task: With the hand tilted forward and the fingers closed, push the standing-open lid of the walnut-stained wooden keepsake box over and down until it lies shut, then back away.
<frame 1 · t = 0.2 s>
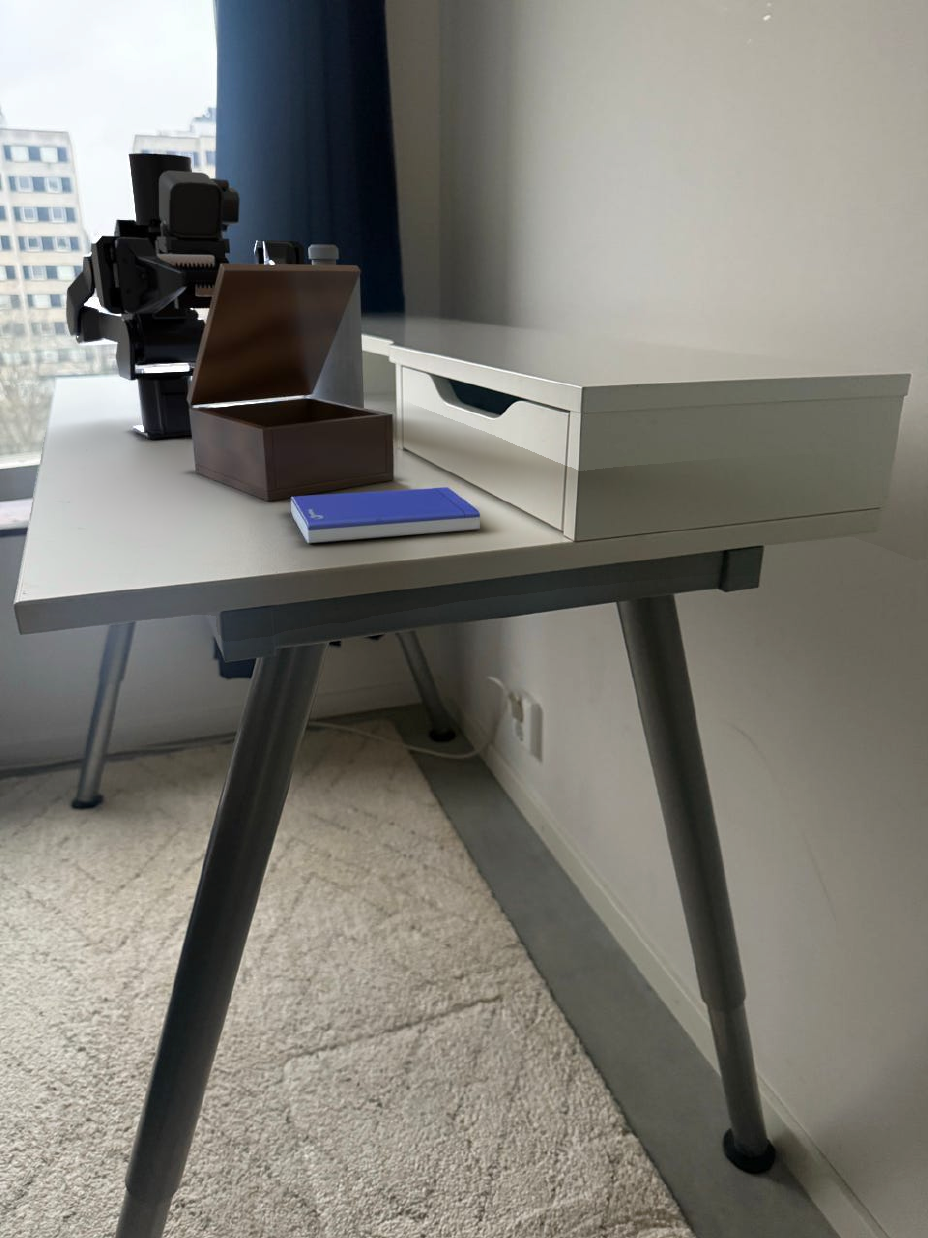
hand: (239, 279, 71), 17 cm above the table, tool horizontal, fingers open, 9 cm apart
lid: (271, 336, 75), point 12 cm above the table, hinge at 51.2°
flask: (333, 417, 109), on the table
keepsake box: (293, 476, 78), on the table
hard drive: (383, 525, 64), on the table
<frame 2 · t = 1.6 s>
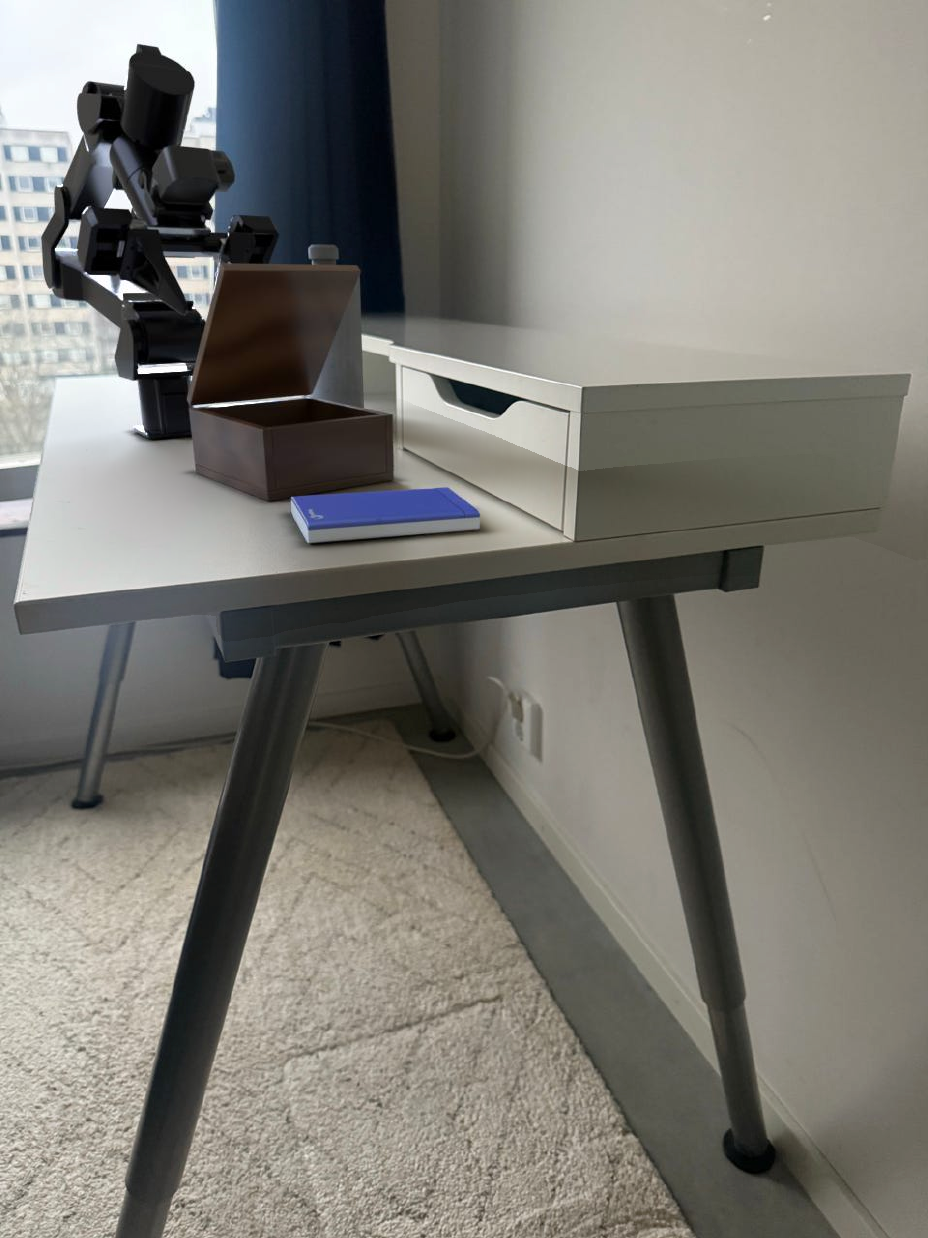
hand: (215, 310, 82), 14 cm above the table, tool tilted 45°, fingers open, 6 cm apart
nothing on the table moved.
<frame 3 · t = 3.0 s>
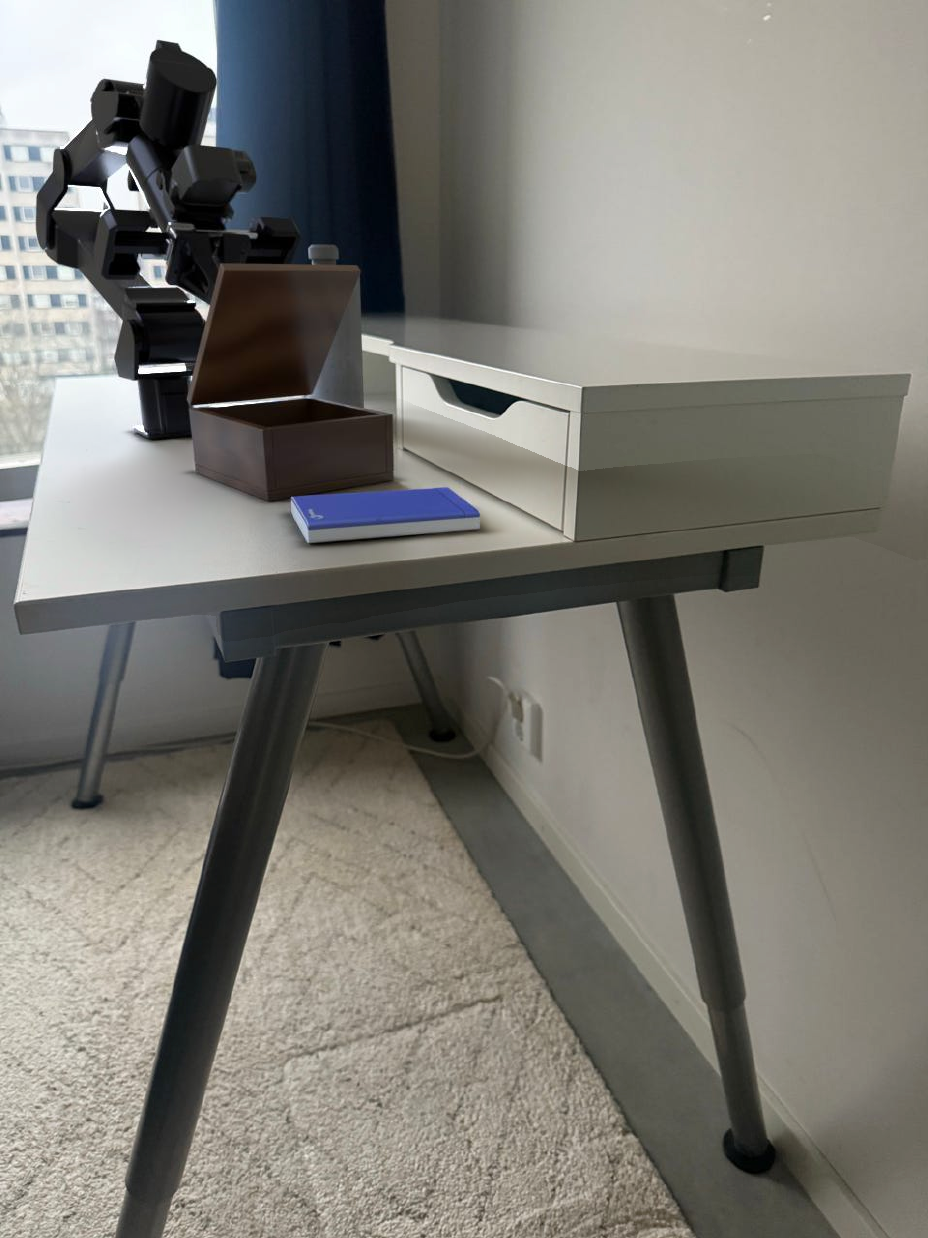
hand: (236, 316, 79), 13 cm above the table, tool tilted 45°, fingers closed
nothing on the table moved.
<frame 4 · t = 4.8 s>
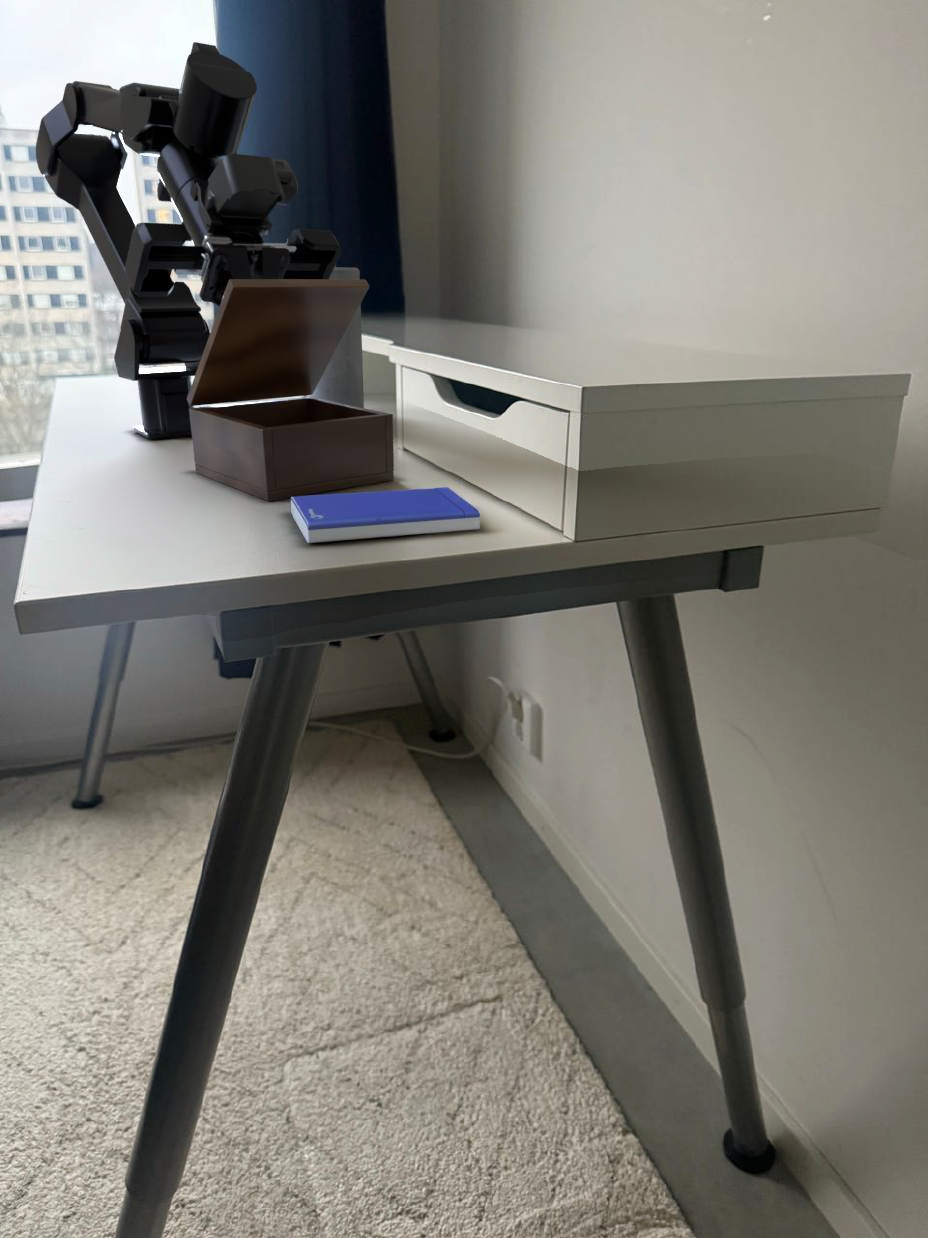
hand: (276, 335, 74), 12 cm above the table, tool tilted 45°, fingers closed
lid: (275, 344, 75), point 11 cm above the table, hinge at 44.4°
everything else where it was.
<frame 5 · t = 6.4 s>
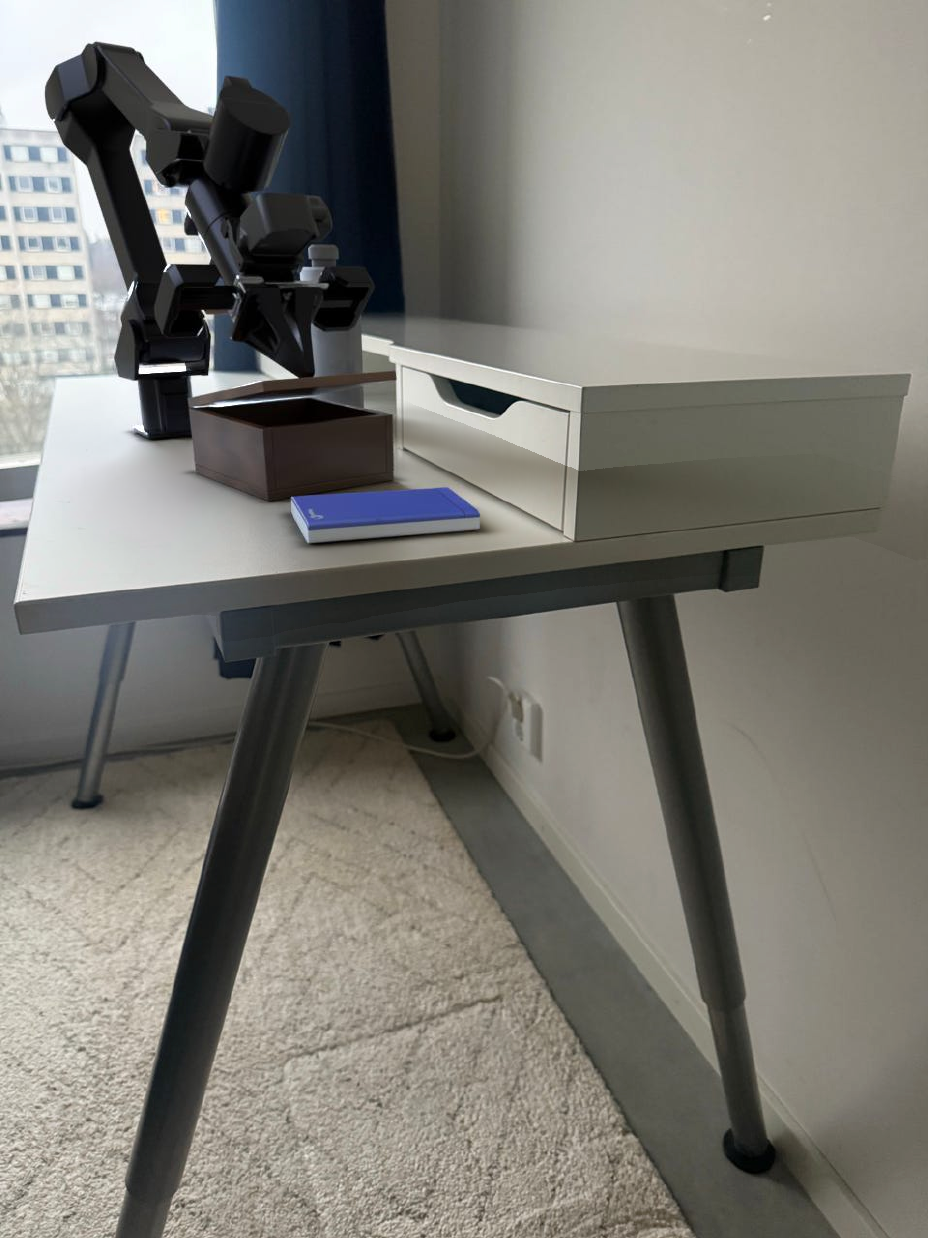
hand: (309, 377, 72), 9 cm above the table, tool tilted 45°, fingers closed, pressing on lid
lid: (289, 389, 75), point 8 cm above the table, hinge at 11.5°, touching gripper
everything else where it was.
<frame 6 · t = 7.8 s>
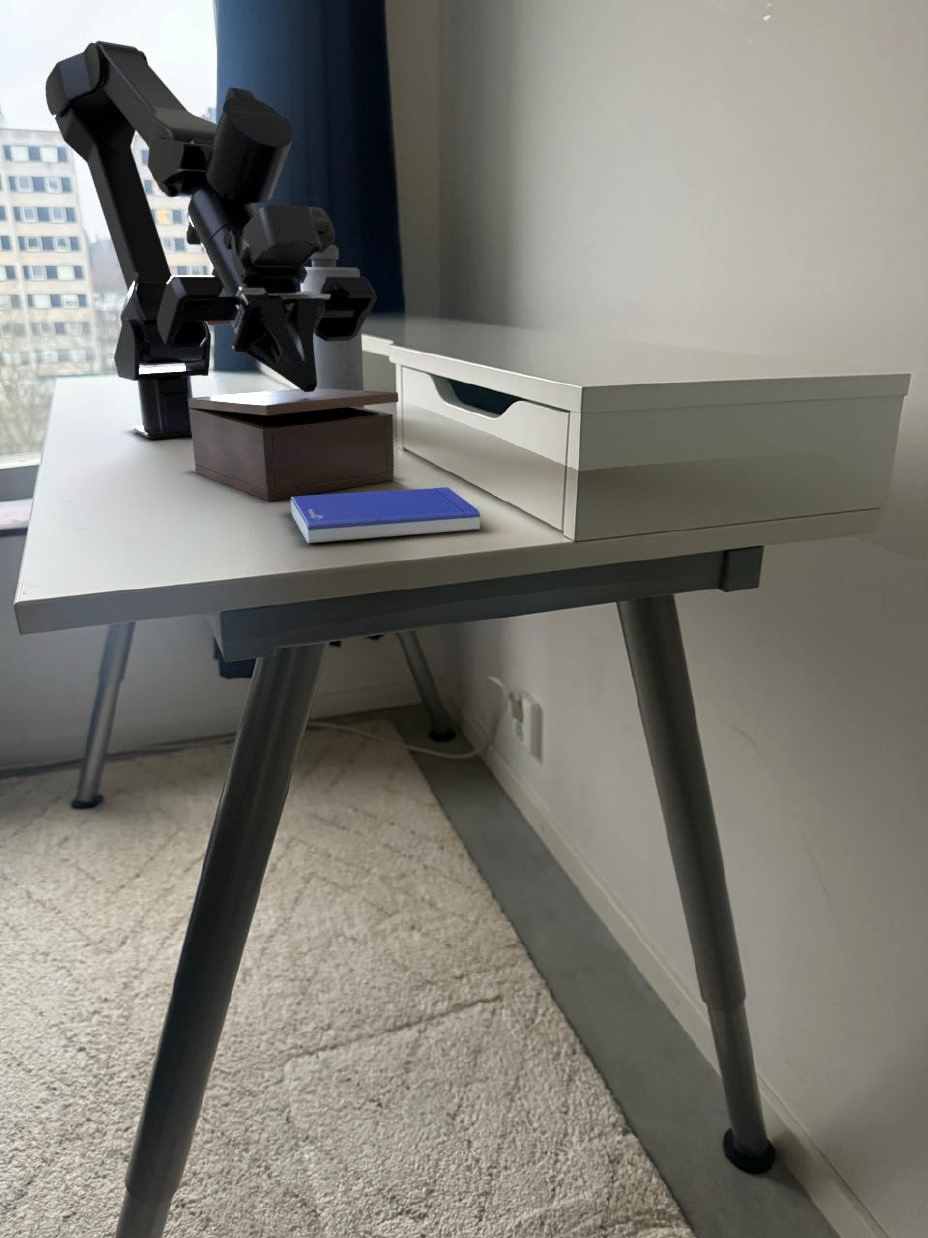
hand: (311, 388, 72), 8 cm above the table, tool tilted 45°, fingers closed
lid: (291, 399, 75), point 7 cm above the table, hinge at 4.4°
everything else where it was.
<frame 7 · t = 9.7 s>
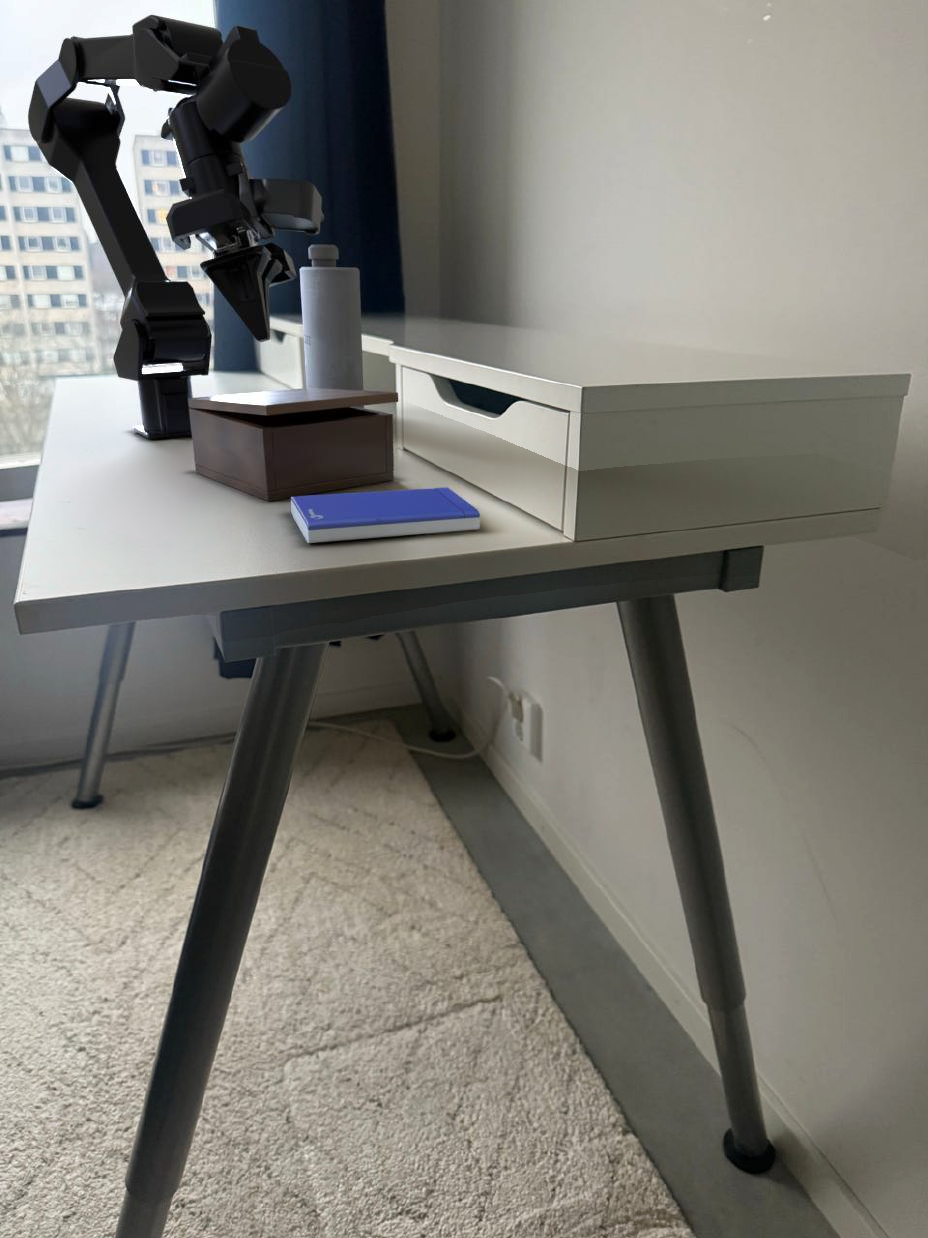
hand: (263, 340, 80), 11 cm above the table, tool tilted 20°, fingers closed
nothing on the table moved.
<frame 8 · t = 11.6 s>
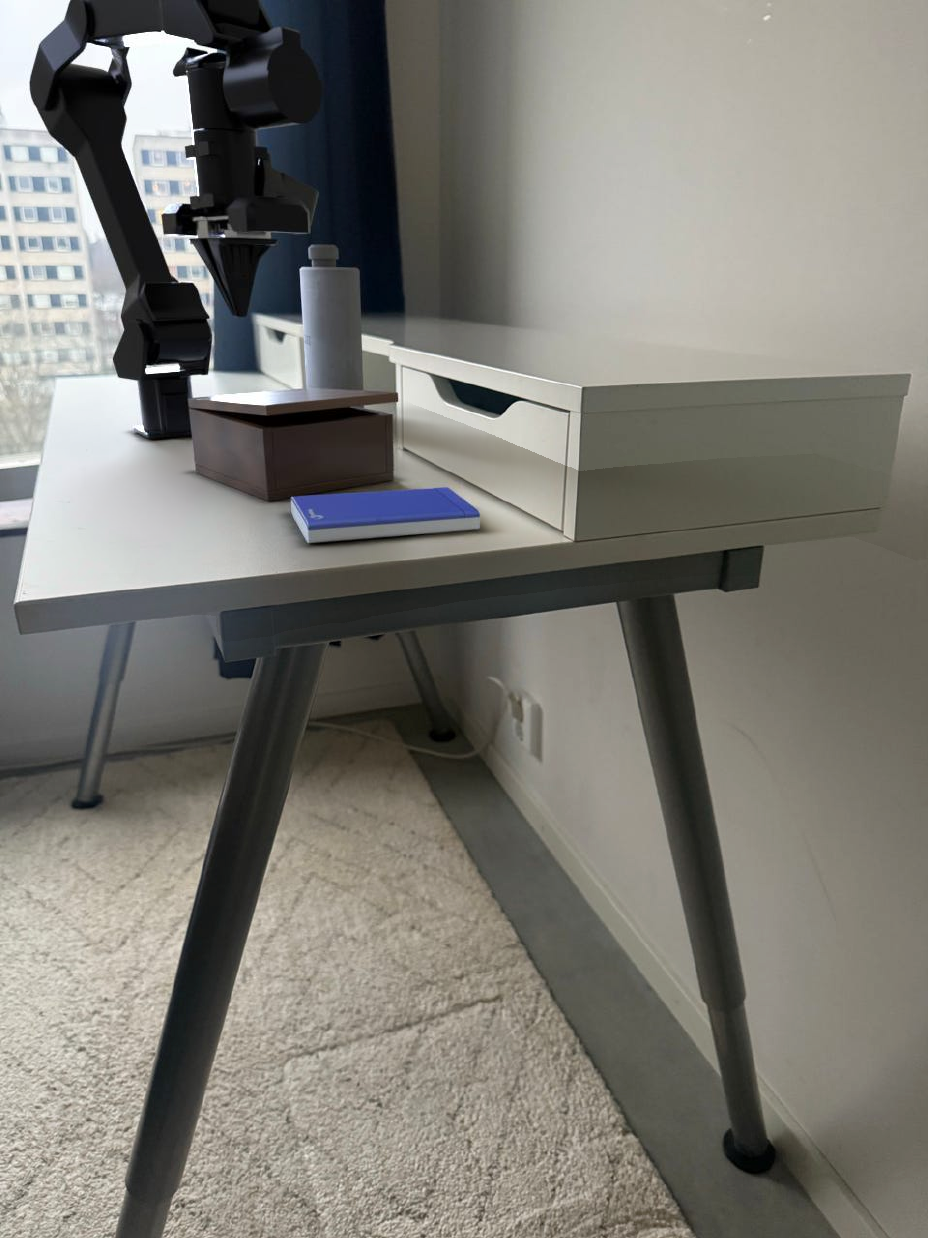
hand: (240, 316, 83), 13 cm above the table, tool pointing down, fingers closed
nothing on the table moved.
at the end: lid at +4° (first picture: +51°) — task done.
